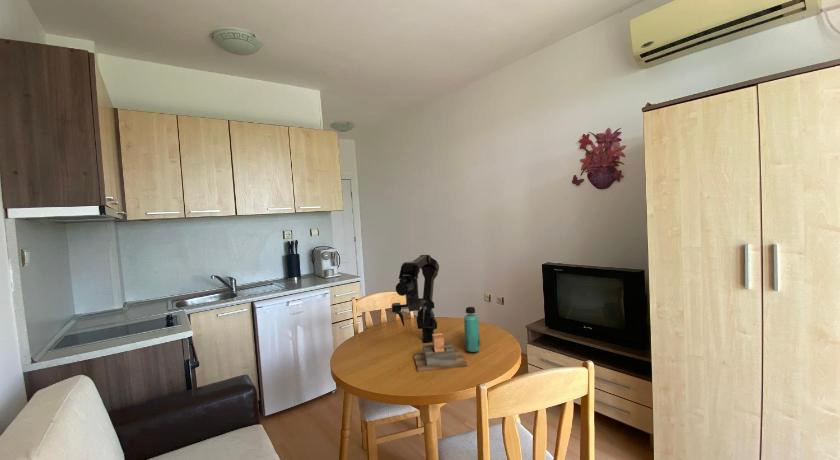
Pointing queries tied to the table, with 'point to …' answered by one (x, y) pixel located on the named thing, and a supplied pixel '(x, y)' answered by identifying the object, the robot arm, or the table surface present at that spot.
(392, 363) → the table surface
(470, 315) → the beverage bottle
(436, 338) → the peg
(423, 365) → the socket board
